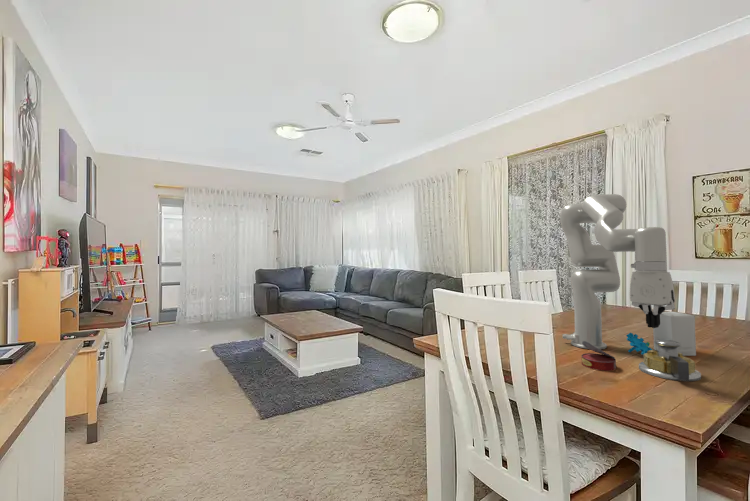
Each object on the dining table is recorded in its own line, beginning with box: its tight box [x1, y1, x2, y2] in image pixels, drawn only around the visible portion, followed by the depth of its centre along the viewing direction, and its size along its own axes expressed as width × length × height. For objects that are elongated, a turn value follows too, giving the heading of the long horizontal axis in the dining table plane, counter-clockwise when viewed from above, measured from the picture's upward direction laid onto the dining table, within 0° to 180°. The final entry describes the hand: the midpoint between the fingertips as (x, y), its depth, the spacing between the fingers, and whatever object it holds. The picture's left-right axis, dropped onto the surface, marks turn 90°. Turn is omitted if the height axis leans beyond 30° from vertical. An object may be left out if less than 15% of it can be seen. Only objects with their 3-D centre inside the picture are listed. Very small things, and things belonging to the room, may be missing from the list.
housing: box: [638, 340, 702, 382], centre depth 108 cm, size 15×15×10 cm
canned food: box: [581, 341, 617, 372], centre depth 116 cm, size 11×10×10 cm
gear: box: [625, 332, 653, 356], centre depth 128 cm, size 11×6×10 cm
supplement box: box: [652, 311, 697, 357], centre depth 128 cm, size 9×9×15 cm
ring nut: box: [642, 349, 696, 380], centre depth 105 cm, size 17×12×5 cm
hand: (653, 327), depth 103 cm, fingers closed
